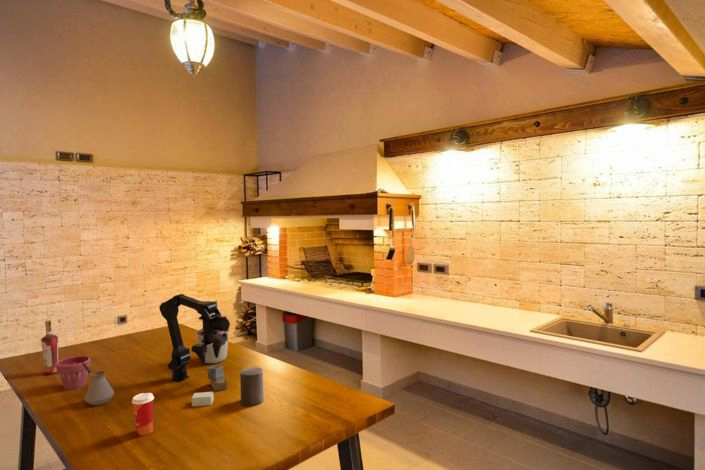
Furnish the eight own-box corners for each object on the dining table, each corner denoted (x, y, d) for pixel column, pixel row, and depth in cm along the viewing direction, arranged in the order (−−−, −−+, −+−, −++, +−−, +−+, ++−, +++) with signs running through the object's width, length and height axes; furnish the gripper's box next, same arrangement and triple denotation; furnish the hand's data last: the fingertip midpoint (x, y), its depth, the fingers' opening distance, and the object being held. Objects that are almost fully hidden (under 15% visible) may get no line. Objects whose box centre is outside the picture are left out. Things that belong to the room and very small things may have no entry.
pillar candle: (244, 408, 185) (242, 373, 184) (238, 399, 194) (237, 366, 193) (266, 403, 190) (265, 369, 189) (260, 394, 199) (259, 362, 198)
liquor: (40, 374, 232) (36, 322, 230) (54, 369, 238) (50, 318, 236) (49, 376, 229) (45, 323, 227) (63, 371, 236) (59, 319, 234)
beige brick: (192, 407, 189) (191, 398, 188) (195, 401, 194) (194, 393, 193) (211, 405, 190) (210, 396, 189) (213, 400, 194) (213, 391, 194)
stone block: (215, 392, 202) (214, 382, 202) (209, 384, 212) (209, 374, 212) (228, 389, 205) (227, 379, 205) (221, 381, 215) (221, 371, 215)
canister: (238, 358, 248) (236, 321, 246) (212, 368, 233) (210, 329, 231) (216, 353, 258) (214, 317, 256) (190, 362, 242) (187, 325, 241)
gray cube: (208, 378, 207) (207, 368, 206) (215, 374, 211) (214, 364, 211) (216, 380, 205) (215, 369, 204) (223, 376, 209) (223, 365, 209)
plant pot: (96, 385, 215) (94, 359, 214) (62, 394, 205) (60, 368, 204) (86, 377, 225) (84, 353, 224) (54, 386, 215) (52, 361, 214)
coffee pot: (119, 399, 198) (117, 367, 196) (91, 410, 188) (89, 375, 187) (97, 389, 210) (95, 358, 209) (71, 398, 201) (68, 366, 200)
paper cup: (138, 427, 172) (136, 392, 171) (159, 426, 172) (156, 391, 171) (130, 438, 164) (127, 401, 163) (151, 436, 165) (149, 400, 164)
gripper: (209, 336, 198) (211, 370, 199) (235, 325, 215) (236, 356, 216) (190, 333, 202) (191, 367, 203) (216, 323, 219) (217, 353, 221)
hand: (210, 360), depth 211 cm, fingers open, 9 cm apart
